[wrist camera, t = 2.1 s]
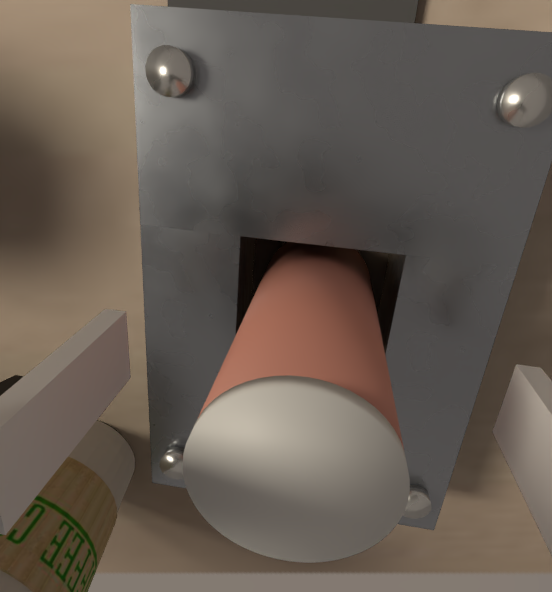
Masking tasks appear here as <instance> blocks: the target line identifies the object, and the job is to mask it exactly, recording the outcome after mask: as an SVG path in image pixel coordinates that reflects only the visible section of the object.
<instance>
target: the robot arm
mask: <svg viewBox="0 0 552 592" xmlns="http://www.w3.org/2000/svg"><path fill="white" fill-rule="evenodd" d="M129 379H130V363H129V347H128V332H127V316H126V311H118V310H111V309H104V310H103V311H102V312H101V313H100V314H98V315H97V316H96V317H95V318H94V319H92V320H91V321H90V322H89V323H88V324H86V325H85V326H84V327H83V328H82V329H80V330H79V331H78V332H77V333H76V334H74V335H73V336H72V337H71V338H70V339H68V340H67V341H66V342H65V343H64V344H62V345H61V346H60V347H59V348H58V349H56V350H55V351H54V352H53V353H51V354H50V355H49V356H48V357H47V358H45V359H44V360H43V361H42V362H41V363H39V364H38V365H37V366H36V367H35V368H33V369H32V370H31V371H30V372H29V373H27V374H26V375H25V376H17V375H15V376H13V377H11V378H8V379H6V380H4V381H2V382H0V534H3V535H6V534H7V533H8V531H9V530H10V529H11V528H12V526H13V525H14V524H15V523H16V521H17V520H18V519H19V518H20V516H21V515H22V514H23V513H24V511H25V510H26V509H27V507H28V506H29V505H30V504H31V502H32V501H33V500H34V499H35V497H36V496H37V495H38V494H39V492H40V491H41V490H42V489H43V487H44V486H45V485H46V484H47V482H48V481H49V480H50V478H51V477H52V476H53V475H54V473H55V472H56V471H57V470H58V468H59V467H60V466H61V465H62V463H63V462H64V461H65V460H66V458H67V457H68V456H69V455H70V453H71V452H72V451H73V450H74V448H75V447H76V446H77V444H78V443H79V442H80V441H81V439H82V438H83V437H84V436H85V434H86V433H87V432H88V431H89V429H90V428H91V427H92V426H93V424H94V423H95V422H96V421H97V419H98V418H99V417H100V415H101V414H102V413H103V412H104V410H105V409H106V408H107V407H108V405H109V404H110V403H111V402H112V400H113V399H114V398H115V397H116V395H117V394H118V393H119V392H120V390H121V389H122V388H123V387H124V385H125V384H126V383H127V381H128V380H129ZM492 432H493V434H494V436H495V439H496V441H497V443H498V445H499V447H500V449H501V451H502V453H503V455H504V457H505V459H506V462H507V464H508V466H509V468H510V470H511V472H512V474H513V476H514V478H515V480H516V482H517V484H518V487H519V489H520V491H521V493H522V495H523V497H524V499H525V501H526V503H527V505H528V507H529V509H530V512H531V514H532V516H533V518H534V520H535V522H536V524H537V526H538V528H539V530H540V532H541V534H542V537H543V539H544V541H545V543H546V545H547V547H548V549H549V551H550V553H551V555H552V381H551V380H550V378H549V377H548V376H547V375H546V373H545V372H544V371H543V370H542V368H540V367H533V366H525V365H518V364H516V366H515V369H514V372H513V375H512V377H511V380H510V383H509V386H508V389H507V392H506V394H505V397H504V400H503V403H502V406H501V409H500V412H499V414H498V417H497V420H496V423H495V426H494V429H493V431H492Z"/></svg>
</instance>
